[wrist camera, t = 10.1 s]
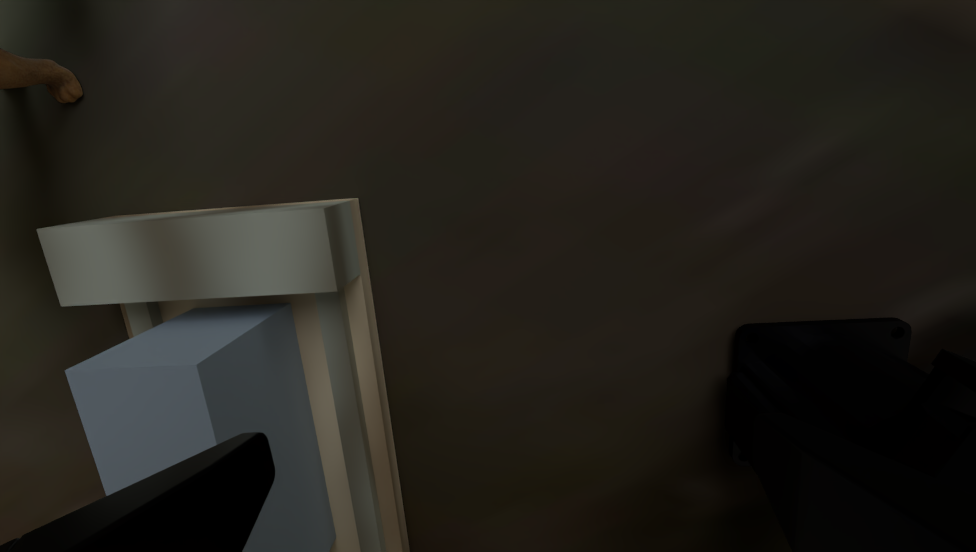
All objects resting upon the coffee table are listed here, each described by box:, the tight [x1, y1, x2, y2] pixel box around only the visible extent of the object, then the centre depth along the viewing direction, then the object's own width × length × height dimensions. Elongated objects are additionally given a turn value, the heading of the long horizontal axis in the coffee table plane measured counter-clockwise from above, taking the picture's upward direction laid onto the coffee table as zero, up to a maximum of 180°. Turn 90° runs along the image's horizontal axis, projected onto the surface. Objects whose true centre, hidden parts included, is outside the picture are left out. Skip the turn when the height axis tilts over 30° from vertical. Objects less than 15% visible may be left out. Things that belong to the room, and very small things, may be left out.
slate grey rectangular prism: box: [65, 303, 336, 552], centre depth 19 cm, size 4×14×6 cm, turn 5°
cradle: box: [36, 198, 410, 552], centre depth 22 cm, size 11×23×4 cm, turn 4°
